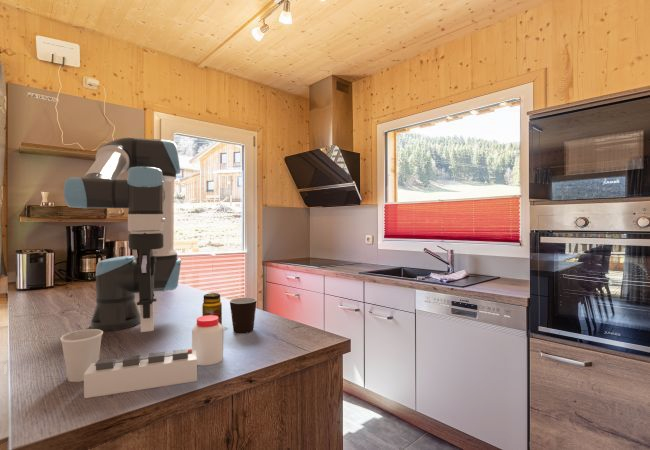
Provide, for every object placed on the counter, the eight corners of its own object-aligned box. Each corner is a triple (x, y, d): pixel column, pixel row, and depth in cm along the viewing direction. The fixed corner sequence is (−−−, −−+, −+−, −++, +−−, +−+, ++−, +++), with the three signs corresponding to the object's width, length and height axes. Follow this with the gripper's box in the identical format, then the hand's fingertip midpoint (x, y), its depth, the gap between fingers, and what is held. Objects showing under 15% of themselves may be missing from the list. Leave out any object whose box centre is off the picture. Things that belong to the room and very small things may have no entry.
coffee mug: (250, 335, 113) (250, 304, 113) (225, 333, 115) (225, 302, 114) (264, 324, 124) (263, 296, 124) (240, 323, 126) (240, 294, 126)
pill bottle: (229, 357, 96) (229, 316, 95) (205, 368, 89) (205, 324, 89) (210, 351, 100) (209, 312, 99) (185, 361, 93) (185, 319, 93)
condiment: (214, 335, 114) (214, 297, 113) (192, 332, 116) (191, 295, 116) (227, 328, 121) (227, 292, 120) (206, 325, 123) (205, 291, 123)
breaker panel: (91, 385, 80) (90, 357, 80) (196, 370, 88) (196, 344, 87) (84, 398, 74) (83, 367, 74) (197, 380, 82) (196, 353, 82)
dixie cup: (83, 386, 79) (83, 341, 79) (51, 383, 81) (50, 339, 81) (112, 370, 88) (111, 329, 87) (82, 367, 89) (81, 327, 89)
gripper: (161, 233, 81) (162, 336, 82) (164, 231, 93) (165, 321, 94) (123, 233, 78) (125, 341, 79) (132, 231, 91) (133, 324, 91)
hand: (147, 330), depth 86 cm, fingers closed
